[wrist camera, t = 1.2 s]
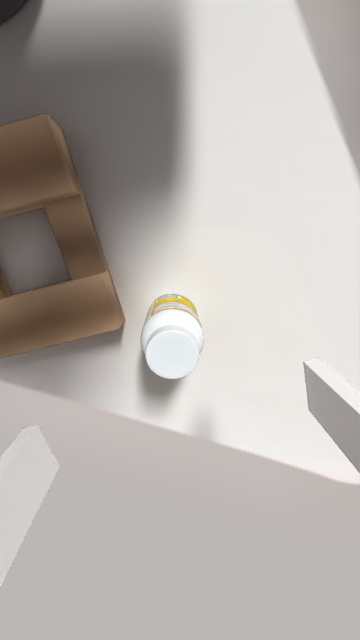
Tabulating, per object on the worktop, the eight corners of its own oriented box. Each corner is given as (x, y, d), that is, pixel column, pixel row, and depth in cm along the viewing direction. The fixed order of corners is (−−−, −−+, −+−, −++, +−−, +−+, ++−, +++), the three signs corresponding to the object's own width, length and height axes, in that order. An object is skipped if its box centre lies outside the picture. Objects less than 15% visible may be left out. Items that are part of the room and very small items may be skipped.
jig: (-87, 171, 23) (-124, 162, 20) (61, 129, 22) (45, 112, 19) (4, 349, 28) (-15, 362, 26) (125, 319, 28) (119, 328, 25)
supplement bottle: (168, 282, 27) (167, 305, 18) (206, 313, 28) (224, 349, 19) (137, 320, 28) (121, 360, 19) (175, 348, 29) (177, 399, 20)
